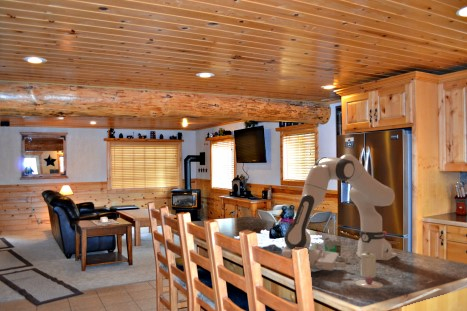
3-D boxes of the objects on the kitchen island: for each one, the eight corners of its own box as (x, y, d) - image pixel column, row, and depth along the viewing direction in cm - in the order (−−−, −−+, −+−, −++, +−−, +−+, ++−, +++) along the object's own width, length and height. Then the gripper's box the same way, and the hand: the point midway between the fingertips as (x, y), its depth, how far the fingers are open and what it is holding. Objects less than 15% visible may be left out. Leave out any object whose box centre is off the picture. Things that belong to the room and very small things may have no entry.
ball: (367, 282, 172) (367, 275, 172) (374, 284, 170) (374, 276, 170) (363, 283, 170) (363, 276, 170) (370, 285, 168) (370, 278, 168)
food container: (318, 256, 221) (318, 238, 222) (328, 255, 224) (328, 237, 224) (331, 261, 210) (331, 242, 210) (341, 260, 212) (341, 241, 212)
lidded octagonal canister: (366, 274, 186) (366, 249, 186) (378, 277, 181) (377, 251, 181) (358, 276, 182) (358, 251, 182) (370, 279, 177) (370, 253, 177)
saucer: (365, 280, 178) (365, 278, 178) (388, 286, 169) (388, 284, 169) (349, 285, 171) (349, 283, 171) (373, 291, 162) (373, 289, 162)
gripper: (312, 258, 181) (344, 260, 176) (320, 248, 200) (349, 250, 195) (312, 272, 181) (344, 275, 176) (320, 261, 200) (349, 264, 195)
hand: (346, 262), depth 185 cm, fingers open, 8 cm apart
